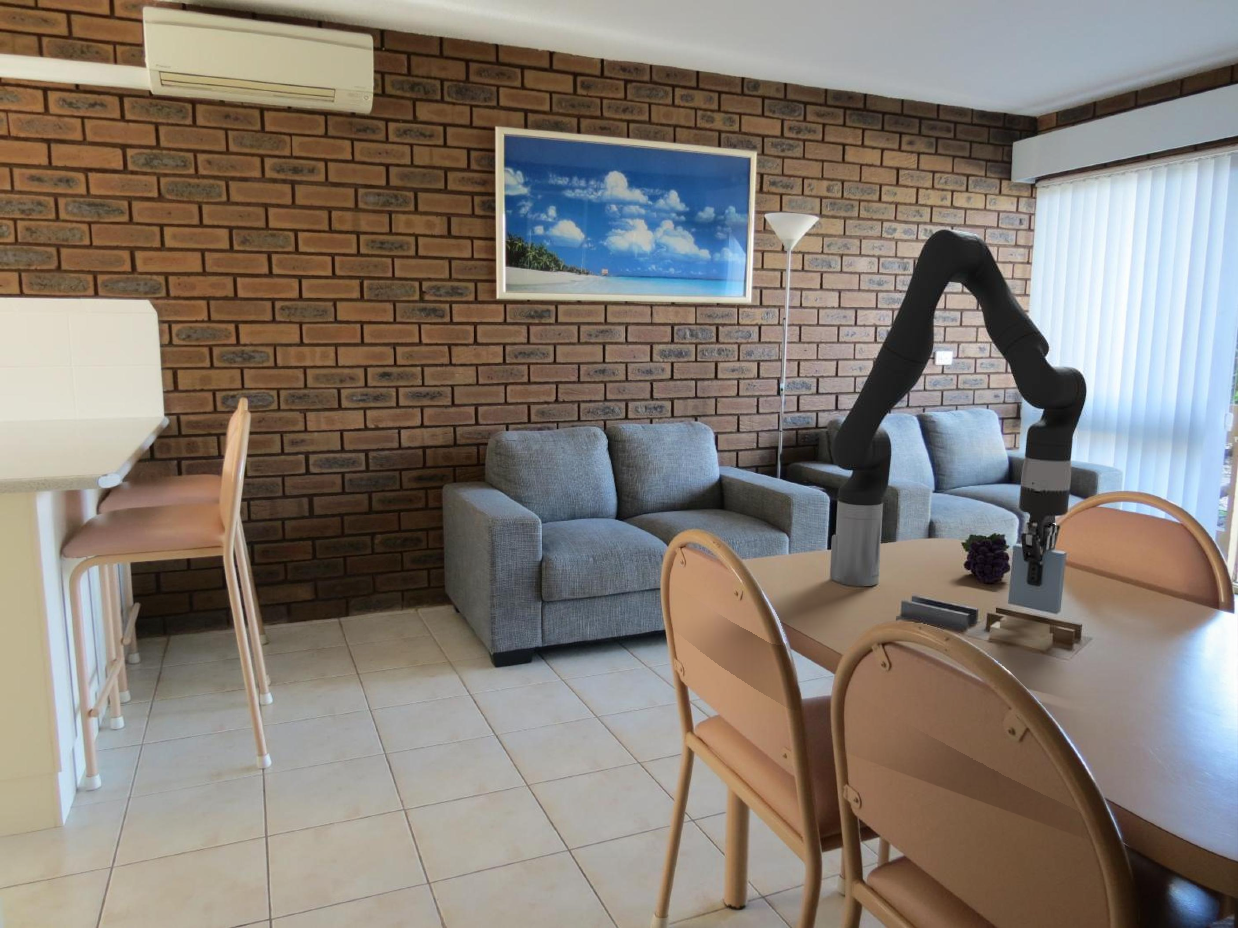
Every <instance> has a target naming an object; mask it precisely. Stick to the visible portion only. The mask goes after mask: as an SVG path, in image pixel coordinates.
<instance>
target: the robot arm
mask: <svg viewBox="0 0 1238 928" xmlns="http://www.w3.org/2000/svg"><path fill="white" fill-rule="evenodd" d="M950 283H956V284H961V286H963V287H964V288H965V289H966V290H967V291H968V292H970V293H971V295H972V296H973V297H974V298H975V300H976V301H977V303H978V306H979V307H980V308H981V312H982V317H983V323H984V326H985V330H986V332H987V335H988V336H989V338H990V340H991V342H992V343H993V344H994V346H995V348H996V349H997V351H998V352H999V353H1000V354H1001V355H1002V357H1003V358H1004V360H1005V361H1006V362H1007V363H1008V365H1009V369H1010V371H1011V375H1012V376H1013V380H1014V383H1015V385H1016V388H1017V391H1018V392H1019V394H1020V395H1021V398H1023V400H1025V402H1026V403H1028V405H1030V406H1031V407H1034V408H1036V409H1039V410H1042V414H1041V417H1040V419H1039V420H1038V421H1036V422H1035V423H1033V424H1031V425H1030V426H1029V427H1028V429H1027V431H1026V432H1027V433H1026V440H1025V441H1026V442H1025V449H1024V450H1025V452H1024V461H1023V464H1022V468H1021V469H1022V470H1021V479H1020V480H1021V481H1020V490H1019V503H1018V508H1019V510H1020V511H1021V512H1023V513H1027V514H1029V518H1028V521H1027V522H1026V524H1025V532H1022V533H1021V534H1020V541H1021V544H1022V550H1023V558H1024V561H1026V562H1027V563H1029V564H1028V576H1027V583H1028V584H1029V585H1033V586H1040V585H1041V583H1042V572H1043V564H1044V557H1045V552H1047V551H1048V550H1049V549H1053V550H1056V549H1055V548H1056V544H1057V540H1058V536H1059V532H1060V529H1061V525H1060V524H1058V523H1056V517H1058V516H1059V517H1060V516H1061V517H1062V516H1065V515H1066V514H1068V510H1069V499H1070V489H1071V479H1072V463H1071V462H1072V460H1071V459H1072V450H1073V437H1074V434H1075V431H1076V429H1077V426H1078V424H1079V422H1080V418H1081V416H1082V413H1083V410H1084V407H1085V403H1086V400H1087V382H1086V379H1085V377H1084V375H1083V374H1082V372H1081V371H1080V370H1078V369H1077V368H1075V367H1072V366H1052V365H1051V364H1050V363H1049V362H1048V360H1047V358H1046V357H1047V356H1048V354H1049V351H1050V345H1049V343H1048V341H1047V338H1045V336H1044V335H1043V334H1042V332H1041V331H1040V330H1039V328H1038V327H1037V326H1036V324H1035V323H1034V322H1033V320H1032V319H1031V318H1030V316H1029V315H1028V314H1027V313H1026V311H1025V310H1024V308H1023V307H1022V306H1021V304H1020V302H1019V301H1018V300H1017V298H1016V297H1015V295H1014V293H1013V291H1012V290H1011V288H1010V287H1009V284H1008V283H1007V281H1006V279H1005V277H1004V275H1003V273H1002V271H1001V269H1000V268H999V265H998V264H997V261H996V259H995V257H994V255H993V252H992V251H991V249H990V248H989V246H988V245H987V243H986V241H985V240H984V239H983V238H982V237H981V236H979V234H975V233H972V232H968V231H962V230H955V229H947V228H945V229H939V230H937V231H935V232H933V233H932V235H930V236H929V238H927V240H926V241H925V243H924V245H923V247H921V250H920V253H919V254H918V258H917V261H916V264H915V266H914V269H913V271H912V275H911V278H910V281H909V284H908V286H907V290H906V292H905V295H904V297H903V300H902V302H901V303H900V306H899V308H898V310H897V313H896V316H895V317H894V320H893V322H892V325H891V327H890V329H889V331H888V334H887V335H886V337H885V338H884V341H883V343H882V345H881V347H880V350H879V351H878V353H877V356H876V358H875V359H874V361H873V365H872V367H871V369H870V371H869V374H868V376H867V378H866V379H865V382H864V384H863V386H862V388H861V390H860V392H859V394H858V396H857V398H856V400H855V402H854V404H853V405H852V406H851V407H852V408H851V409H850V410H849V412H848V414H846V417H845V418H844V420H843V422H842V423H841V425H840V427H839V428H838V430H837V432H836V434H835V435H834V438H833V443H832V447H831V452H832V454H831V455H832V459H833V462H834V463H835V465H836V466H837V467H838V468H840V469H842V470H845V471H852V472H851V475H850V476H849V477H848V480H846V481H845V482H844V483H843V484H841V485H840V486H839V488H838V489H837V506H836V507H837V509H836V525H835V526H836V528H835V533H834V534H833V535H832V536H831V543H830V544H831V545H830V547H831V549H830V566H829V567H830V568H829V579H830V580H834V581H835V582H837V583H839V584H842V585H847V586H853V587H872V586H876V585H878V583H879V582H880V581H879V580H880V579H879V577H880V563H881V561H880V560H881V547H882V546H881V545H882V544H881V543H882V542H881V541H882V530H883V529H882V526H883V509H884V498H885V497H884V496H885V494H886V492H887V490H888V487H889V482H890V481H889V479H890V474H891V473H890V472H891V463H892V443H891V438H890V436H889V433H888V432H887V431H886V429H884V428H883V427H881V424H882V423H883V420H884V419H885V417H886V416H887V415H888V413H890V411H891V410H892V409H894V407H896V405H897V404H898V403H899V402H901V401H902V400H903V399H904V398H905V397H906V396H907V395H908V394H909V392H910V391H912V389H914V387H915V386H916V384H917V383H918V381H919V380H920V379H921V377H922V375H923V373H924V370H925V369H926V367H927V365H928V363H929V361H930V359H931V357H932V353H933V351H934V345H935V314H936V309H937V307H938V304H939V302H940V300H941V297H942V296H943V294H944V291H945V290H946V288H947V287H948V285H949V284H950ZM1032 554H1035V556H1034V555H1032Z"/></svg>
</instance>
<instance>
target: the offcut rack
mask: <svg viewBox="0 0 1238 928" xmlns="http://www.w3.org/2000/svg"><path fill="white" fill-rule="evenodd" d="M1006 615H1007V616H1012V617H1016V618H1021V619H1026V620H1030V621H1035V622H1040V623H1044V624H1049V625H1050V632H1049V633H1052V634H1053V640H1052V646H1051V647H1049V648H1048V649H1047V650H1046V651H1045V650H1040V649H1036V648H1032V647H1028V646H1023V645H1019V644H1015V643H1010V642H1006V641H1002V640H998V639H993V638H989V634H990V626H991V625H993V624H994V623H996V622H997V621H998V622H1000V619H1002V618H1003V617H1005V616H1006ZM1082 631H1083V623H1080V622H1076V621H1070V620H1067V619H1061V618H1056V617H1052V616H1047V615H1042V614H1037V613H1032V612H1028V611H1023V610H1018V609H1013V608H1009V607H1003V606H999V605H997V606H995V612H992V611H988V612H987V613H986V619H984V620H981V622H978V623H976V625H975V626H974V625H973V626H972V627H970V628H969V629H968V630H967V631H966V630H965V631H964V633H963V632H962V633H961V635H962V636H966V637H969V638H975V639H978V640H982V641H986V642H992V643H995V644H999V645H1002V646H1003V645H1004V646H1008V647H1012V648H1016V649H1020V650H1025V651H1027V652H1028V651H1029V652H1033V653H1037V654H1041V655H1046V656H1049V657H1050V656H1051V657H1054V658H1057V659H1062V660H1067V661H1070V660H1071V659H1072V658H1073V657H1075V655H1077V653H1078V652H1079V651H1081V650H1082V649H1083V648H1084V647H1085V646H1086V645H1087V644H1088V643H1090V641H1092V640H1093V638H1094V637H1089V636H1086V635H1082V634H1083V633H1082Z"/></svg>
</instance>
